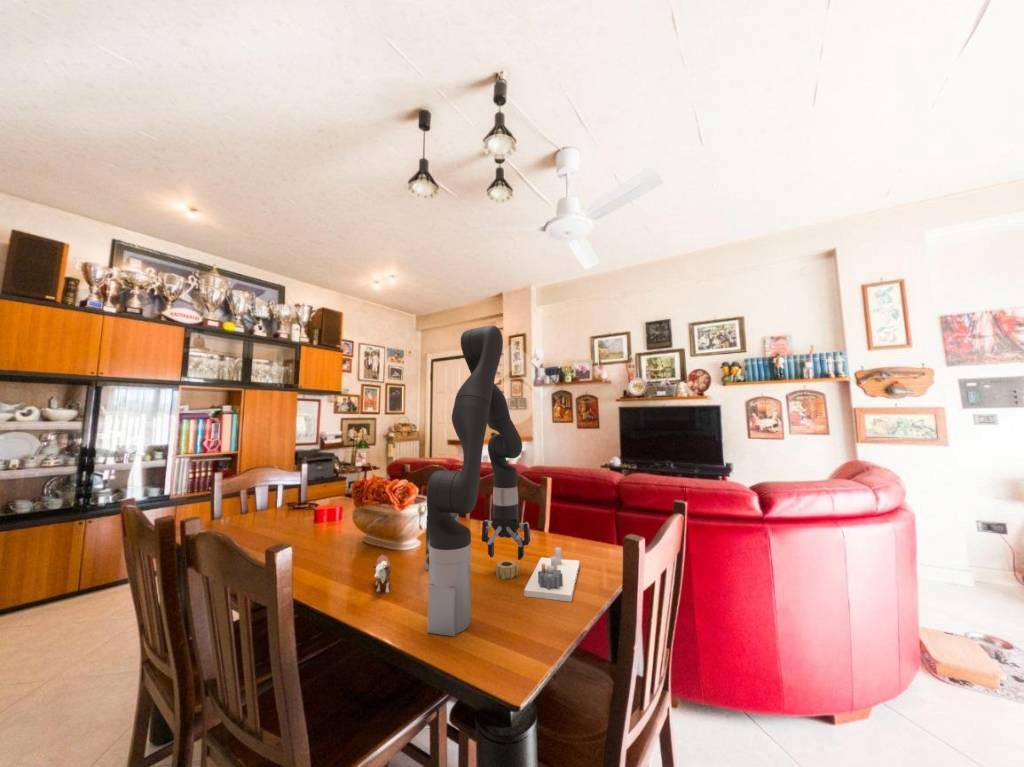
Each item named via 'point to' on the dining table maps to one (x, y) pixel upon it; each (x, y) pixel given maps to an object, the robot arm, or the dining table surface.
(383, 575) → the bull figurine
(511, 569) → the brass gear
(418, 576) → the dining table surface
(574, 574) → the gear board
